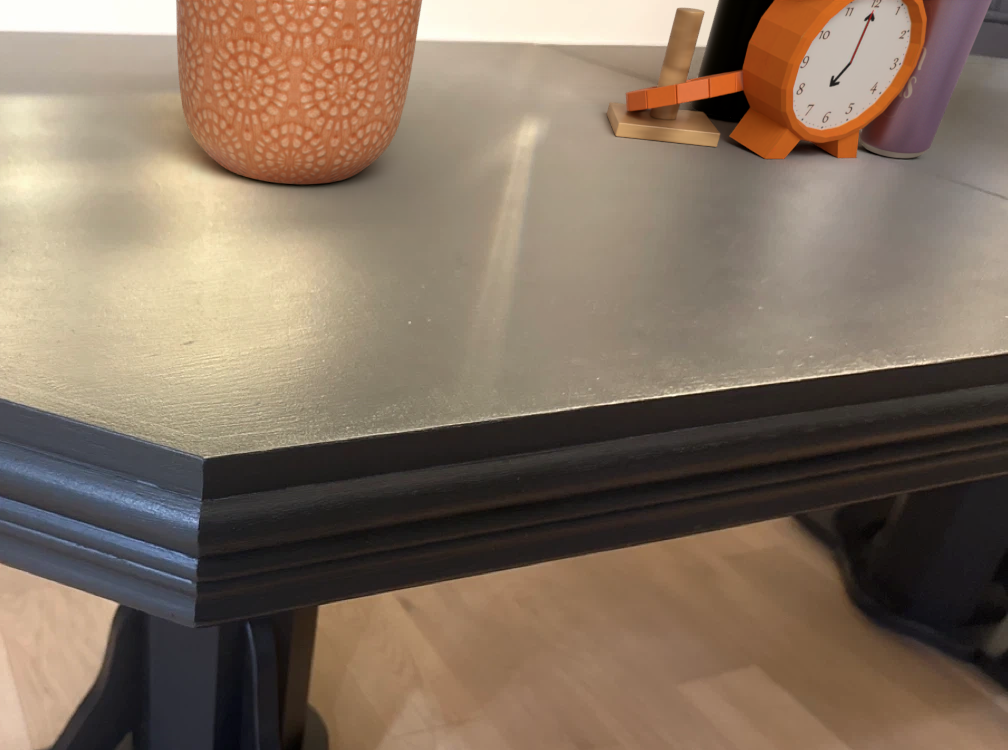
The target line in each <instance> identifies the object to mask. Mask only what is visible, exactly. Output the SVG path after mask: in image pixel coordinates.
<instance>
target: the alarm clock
mask: <svg viewBox="0 0 1008 750" xmlns="http://www.w3.org/2000/svg"><path fill="white" fill-rule="evenodd" d="M926 22H927V17H926V13H925V9H924V4H923V0H774V2H773V3H772V4H771V6H770V7H769V8H768V9H767V11H766V12H765V13H764V15H763V16H762V17H761V19H760V21H759V23H758V25H757V28H756V30H755V32H754V34H753V36H752V38H751V40H750V42H749V45H748V49H747V53H746V57H745V61H744V65H743V91H744V93H745V95H746V98H747V100H748V103H749V105H750V109H749V110H748V111H747V113H746V114H745V115H744V117H743V118H742V119H740V121H739V122H738V123H737V124H736V126H735V127H734V129H733V130H732V132H730V134H729V138H731V139H733V140H734V141H736V142H737V143H739V144H741V145H742V146H744V147H746V148H747V149H749V151H752V152H754V153H755V154H757V156H759V157H761V158H763V159H764V160H784V159H786V158H787V156H788V155H789V154H790V153H791V152H792V151H793V149H794V148H795V147H796V146H797V144H799V142H801V141H803V142H808V143H809V142H810V143H811V144H813V145H814V146H817V147H818V148H820V149H821V150H823V151H825V152H826V153H829V154H830V155H832V156H833V157H835V158H837V159H856V158H857V156H858V148H859V147H858V146H859V138H860V131H862V129H863V128H864V127H865V126H866V125H868V124H869V123H870V122H871V121H873V120H874V119H875V118H876V117H878V116H879V115H880V114H881V113H883V112H884V110H885V109H886V108H887V107H888V106H889V105H890V103H891V102H892V101H893V100H894V99H895V98H896V96H897V95H898V94H899V93H900V92H901V91H902V89H903V87H904V86H905V84H906V82H907V80H908V79H909V77H910V75H911V74H912V72H913V70H914V69H915V67H916V64H917V62H918V59H919V56H920V53H921V50H922V48H923V45H924V42H925V32H926Z"/></svg>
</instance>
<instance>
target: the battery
mask: <svg viewBox="0 0 1008 750" xmlns="http://www.w3.org/2000/svg"><path fill="white" fill-rule="evenodd" d="M773 2H774V0H718V1H717V5H716V9H715V12H714V16H713V20H712V23H711V27H710V29H709V34H708V38H707V42H706V45H705V49H704V53H703V55H702V56H703V57H702V60H701V63H700V67H699V71H698V75H697V78H699V77H705V76H710V75H715V74H721V73H727V72H733V71H739V70H743V65H744V61H745V57H746V53H747V49H748V45H749V42H750V40H751V38H752V36H753V34H754V32H755V30H756V28H757V25H758V23H759V21H760V19H761V17H762V16H763V15H764V13H765V12H766V11H767V9H768V8H769V7H770V6H771V4H772V3H773ZM690 108H692V110H693V111H698V112H704V113H705V115H709V116H714V117H717V118H724V119H732V120H741V119H742V118H743V117H744V115H745V114H746V113H747V111H748V110H749V109H750V105H749V103H748V100H747V98H746V95H745V93H744V91H743V90H742V91H739V92H735V93H730V94H725V95H721V96H716V97H711V98H706V99H701V100H696V101H691V102H690Z"/></svg>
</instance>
